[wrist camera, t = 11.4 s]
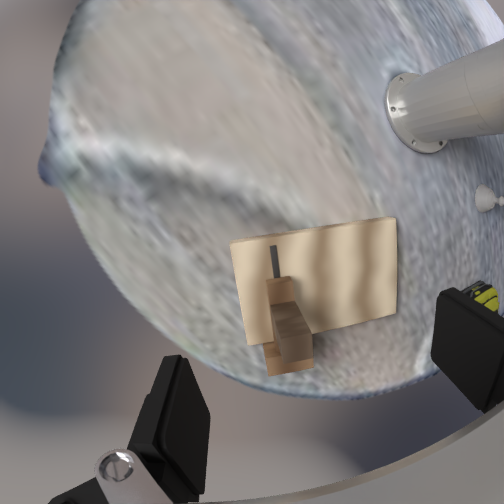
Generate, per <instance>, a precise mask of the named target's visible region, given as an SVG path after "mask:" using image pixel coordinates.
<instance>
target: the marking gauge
mask: <svg viewBox="0 0 504 504" xmlns="http://www.w3.org/2000/svg"><path fill="white" fill-rule="evenodd" d="M265 281H266V288H267V295H268V302H269V309H270V316H271V323H272V330H273V338H274V341H273V342H267V343H263V348H264V355H265V360H266V365H267V370H268V376H274V375H279V374H285V373H290V372H295V371H300V370H305V369H309V368H314V366H313V343H312V332H311V330H310V328H309V326H308V325H307V323H306V321H305V319H304V317H303V315H302V313H301V311H300V309H299V307H298V306H297V304H296V302H295V297H294V288H293V281H292V279H291V277H290V276H285V277H279V278H273V279H268V280H265Z"/></svg>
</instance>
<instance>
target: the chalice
mask: <svg viewBox="0 0 504 504" xmlns="http://www.w3.org/2000/svg"><path fill="white" fill-rule="evenodd" d="M475 203H476V207H477V209H478V210H479V211H480V212H482V213H483V212H486V211H488V210H491V209H492V208H493V207H494V206H495V203H498V204H500V206H501V207H502V206H503V205H504V197H503V196H501V197H500V198H497V197H495V194H494V192H493V191H492V189H490V188H489V187H487V186H486V185H484V184H481V185H479V186H478V188H477V190H476V193H475Z"/></svg>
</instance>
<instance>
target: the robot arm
mask: <svg viewBox="0 0 504 504" xmlns="http://www.w3.org/2000/svg"><path fill="white" fill-rule="evenodd" d="M385 109H386V114H387V117H388V120H389V122H390V124H391V127H392V129H393V130H394V132H395V133H396V135H397V136H398V137H399V138H400V140H401V141H402V142H403V143H405V144H406V145H407V146H408V147H410V148H411V149H413V150H415V151H417V152H420V153H433V152H437V151H439V150H440V149H442V148H443V147H444V146H445V145H446V143H447V141H448V140H451V139H458V138H467V137H476V136H485V135H496V134H504V39H502V40H500V41H498V42H496V43H493V44H491V45H489V46H487V47H485V48H482V49H480V50H478V51H475V52H473V53H471V54H468V55H466V56H463V57H461V58H459V59H457V60H454V61H452V62H450V63H448V64H445V65H443V66H441V67H439V68H437V69H435V70H432V71H430V72H428V73H426V74H424V75H422V76H420V75H418V74H414V73H404V74H400V75H398V76H396V77H395V78H394V79H392V80H391V82H390V83H389V84H388V86H387V89H386V92H385ZM431 358H432V361H433V362H434V363H435V364H436V365H437V366H438V367H439V368H440V369H441V370H442V371H443V372H444V373H445V375H446V376H448V377H449V379H450V380H451V381H452V382H453V383H454V384H455V385H456V386H457V387H458V389H459V390H460V391H461V392H462V393H463V394H464V395H465V396H466V397H467V399H468V400H469V401H470V402H471V403H472V404H473V405H474V406H475V407H476V408H477V409H478V410H481V411H482V412H483V413H484V415H482V416H481V417H479V418H478V419H476V420H475V421H473V422H472V423H470V424H468V425H467V426H466V427H464V428H462V429H460V430H459V431H457V432H455V433H453V434H452V435H450V436H448V437H446V438H445V439H443V440H441V441H439V442H437V443H435V444H433V445H431V446H429V447H427V448H425V449H423V450H421V451H419V452H417V453H415V454H413V455H410V456H408V457H406V458H404V459H401V460H399V461H397V462H394V463H392V464H389V465H387V466H384V467H382V468H379V469H376V470H374V471H371V472H368V473H365V474H362V475H359V476H356V477H353V478H350V479H347V480H343V481H340V482H336V483H333V484H329V485H325V486H321V487H317V488H313V489H308V490H304V491H299V492H294V493H289V494H283V495H277V496H270V497H264V498H256V499H247V500H237V501H225V502H209V503H188V502H199V494H204V491H205V479H206V466H207V453H208V442H209V441H208V440H209V431H210V413H209V410H208V407H207V405H206V403H205V401H204V398H203V396H202V393H201V391H200V389H199V386H198V384H197V381H196V379H195V376H194V374H193V371H192V369H191V366H190V364H189V361H188V359H187V358H182V356H181V355H172V356H165V357H164V358H163V360H162V363H161V365H160V368H159V371H158V373H157V376H156V378H155V381H154V384H153V386H152V389H151V392H150V394H148V395H147V396H146V398H145V400H144V403H143V406H142V408H141V411H140V414H139V416H138V419H137V422H136V425H135V427H134V430H133V433H132V436H131V439H130V441H129V444H128V447H127V449H114V450H111V451H108V452H107V453H105V454H103V455H102V456H101V457H100V458H99V459H98V461H97V463H96V465H95V476H96V477H95V478H93V479H91V480H89V481H87V482H85V483H83V484H81V485H79V486H77V487H75V488H73V489H71V490H69V491H67V492H65V493H63V494H60V495H58V496H56V497H55V498H53V499H52V500H51V501H50V502H49V503H48V504H504V318H503V317H502V316H500V315H498V314H497V313H495V312H494V311H492V310H491V309H489V308H487V307H486V306H484V305H483V304H481V303H479V302H478V301H476V300H474V299H473V298H471V297H469V296H468V295H466V294H464V293H463V292H461V291H459V290H458V289H456V288H454V287H452V288H449V289H446V290H444V291H441V292H440V294H439V296H438V298H437V302H436V314H435V324H434V333H433V340H432V348H431ZM496 404H498V405H497V406H496Z"/></svg>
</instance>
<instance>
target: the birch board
mask: <svg viewBox="0 0 504 504" xmlns="http://www.w3.org/2000/svg"><path fill="white" fill-rule="evenodd" d="M230 249H231V255H232V260H233V266H234V272H235V278H236V283H237V289H238V294H239V300H240V305H241V311H242V316H243V322H244V327H245V332H246V338H247V343H248V346H249V345H255V344H261V343H267V342H273V341H274V338H273V330H272V323H271V316H270V309H269V302H268V295H267V288H266V281H265V280H268V279H273V278H279V277H285V276H290V277H291V279H292V281H293V288H294V297H295V302H296V304H297V306H298V307H299V309H300V311H301V313H302V315H303V317H304V319H305V321H306V323H307V325H308V326H309V328H310V330H311V332H312V334H314V333H319V332H323V331H328V330H332V329H336V328H341V327H345V326H349V325H353V324H357V323H361V322H365V321H369V320H373V319H376V318H380V317H384V316H387V315H391V314H394V313H396V298H397V233H396V218H392V217H382V218H375V219H368V220H362V221H355V222H348V223H341V224H334V225H328V226H321V227H314V228H308V229H301V230H295V231H288V232H282V233H276V234H269V235H263V236H257V237H250V238H244V239H238V240H232V241H230Z"/></svg>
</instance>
